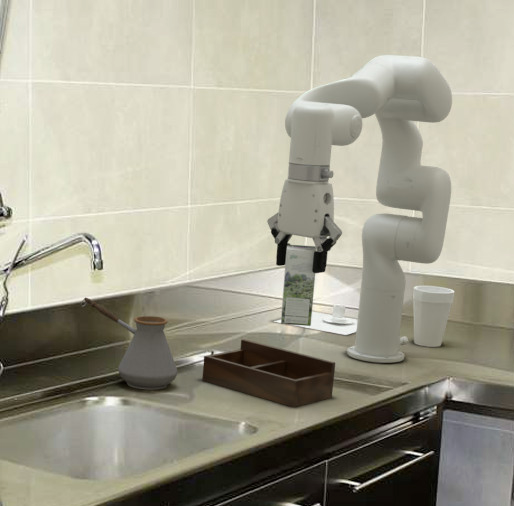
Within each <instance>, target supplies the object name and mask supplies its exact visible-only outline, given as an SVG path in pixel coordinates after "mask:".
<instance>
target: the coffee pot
mask: <svg viewBox="0 0 514 506" xmlns="http://www.w3.org/2000/svg"><path fill="white" fill-rule="evenodd" d="M84 301H85V303H84ZM82 303H84V304H83V305H82ZM88 304H89V305H90V306H91V308H94V309H95V310H96V311H98V312H99V313H100V314H101V315H103V316H105V317H107V318H108V319H110V320H111V321H114V322H115V323H116V324H118V325H120V326H121V327H123V329H124V328H125V330H127V331H129V332H130V333H132V334H133V337H132V338H131V341H130V342H129V344H128V347H127V349H126V351H125V353H124V355H123V357H122V359H121V360H120V363H119V365H118V367H117V370H118V373H119V376H120V378H121V379H122V380H123V381H124V382H126V384H127V386H129V387H131V388H134V389H139V390H149V391H150V390H151V391H152V390H163V389H166V388H167V387H168V385H169V384H171V383H172V382H173V381H175V379H176V378H177V375H178V373H179V372H178V368H177V366H176V363H175V361H174V357H173V354H172V351H171V348H170V346H169V343H168V340H167V337H166V334H165V332H164V329H165V326H166V325H167V324H168V319H166V318H164V317H161V316H149V315H146V316H144V315H143V316H142V315H141V316H136V317H134V319H133V321H134V322H135V325H136V328H134V327H132V326H131V325H129V324H128V323H126V322H125V321H123V320H121V318H119V317H118V316H116V315H115V314H114V313H112V312H111V311H110V310H108V309H107V308H105V307H104V306H101V305H99V304H98V303H97V302H96V301H92V300H91V299H90V298H88V297H84V298H83V300H82V301H81V302H80V303H79V305H80V307H82V308H84V307H85V306H86V305H88Z"/></svg>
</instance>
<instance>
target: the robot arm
mask: <svg viewBox="0 0 514 506" xmlns="http://www.w3.org/2000/svg"><path fill="white" fill-rule="evenodd" d="M452 105H453V94H452V89H451V87H450V84H449V82H448V81H447V80H446V78H445V76H444V75H443V73H441V71H440V70H439V68H438V67H437V66H436V65H435V64H434V63H433V62H432V61H431V59H428V58H427V57H424V56H418V55H417V56H416V55H400V54H382V55H377V56H375V57H373V58H372V59H370V60H369V61H368V62H366V63H365V64H364V65H363V66H361V68H359V69H358V70H357V71H356V72H355V73H353V74H352V75H351V76H350V77H347V78H344V79H339V80H336V81H332V82H329V83H326V84H322V85H319V86H316V87H313V88H310V89H309V90H307V91H305V92H303V94H301V95H299V96H298V97H297V98H296V99H295V100H294V101H293V102H292V103H291V104H290V106H289V108H288V109H287V112H286V114H285V119H284V127H285V132H286V134H287V136H288V137H289V138H290V142H289V156H288V157H289V158H288V165H287V166H288V167H287V178H286V179H285V180H284V183H283V187H282V189H281V195H280V199H279V204H278V205H279V206H278V212H277V213H275V214H273V215H272V216H271V217H269V218H268V219H267V220H266V222H267V225H268V227H269V229H270V234H271V236H272V237H273V238H274V244H276V245H277V246H276V247H277V248H276V257H275V258H276V260H275V261H276V262H275V265H276V266H278V267H282V266H285V262H286V251H287V245H291V243H289V242H290V240H291V238H292V237H293V236H297V237H303V238H309V239H312V241H313V243H314V246H316V249H317V251H315V252H314V257H313V269H312V272H313V273H315V274H321V273H325V272H326V268H327V264H328V263H327V261H328V253H329V252H330V251H331V249H332V248H333V247H334V246H335V245H336V244H337V242H338V241H339V239H340V238H341V236H342V235H343V231H342V229H341V228H340V227H339V226H338V225H337V224H336V223H335V222H334V220H335V199H334V197H335V196H334V189H333V184H332V183H329V179H332V178H334V171H333V170H330V169H331V157H332V146H336V147H337V146H338V147H344V146H349V145H352V144H353V143H355V142H356V141H357V139H358V138H359V137H360V136H361V134H362V130H363V119H366V118H370V117H371V116H374V115H375V118H376V119H377V122H378V125H379V129H380V133H381V140H382V143H381V152H380V157H379V158H380V159H379V165H378V171H377V179H376V186H375V195H376V196H375V197H376V200H377V202H378V203H379V204H380V205H382V206H385V207H387V208H392V209H393V208H394V209H398V210H399V209H400V210H409V211H415V212H416V211H417V212H421V215H422V217H417V216H408V215H403V214H393V213H377V214H373V215H371V216H369V217H368V218H367V219H366V220H365V222H364V223H363V226H362V230H361V247H362V272H361V284H360V293H359V300H358V301H359V302H358V310H357V311H358V312H357V330H356V332H355V341H354V345H352V346H350V347H348V348H347V349H346V354H347V356H348V357H350V358H353V359H355V360H360V361H363V362H370V363H377V364H378V363H379V364H393V363H401V362H402V361H404V359H405V353H404V352H402V351H401V350H400V347H401V346H405V345H407V344H408V343H409V338H408V337H407V336H405V335H404V336H400V335H401V327H402V326H401V325H402V319H403V318H402V317H403V310H404V309H403V307H404V299H405V290H406V276H405V272H404V270H403V268H402V267H401V264H400V261H402V262H410V263H417V264H425V265H427V264H428V265H429V264H432V263H435V262H436V261H438V259H439V258H440V256H441V254H442V251H443V246H444V241H445V235H446V229H447V223H448V216H449V211H450V205H451V198H452V181H451V177H450V174H449V173H448V172H447V170H445V169H443V168H441V167H437V166H429V165H422V164H421V159H422V153H423V152H422V151H423V145H424V142H423V138H422V134H421V132H420V130H419V128H418V126H417V125H416V123H415V122H421V123H422V122H423V123H430V124H431V123H440V122H442V121H444V120H445V119H446V118H447V117H448V116H449V114H450V112H451V110H452Z"/></svg>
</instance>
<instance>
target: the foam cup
mask: <svg viewBox="0 0 514 506" xmlns="http://www.w3.org/2000/svg"><path fill="white" fill-rule="evenodd" d="M412 289H413V290H412V300H413V301H412V305H413V306H412V311H413V343H414V345H418V346H421V347H428V348H429V347H430V348H438V347H441V346H442V342H443V339H444V336H445V332H446V327H447V325H448V321H449V317H450V312H451V310H452V305H453V303H454V299H455V290H453V289H452V288H447V287H442V286H437V285H416V286H414V287H413V288H412Z"/></svg>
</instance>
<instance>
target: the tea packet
mask: <svg viewBox="0 0 514 506" xmlns="http://www.w3.org/2000/svg"><path fill="white" fill-rule="evenodd" d="M315 251H317V249H316V246H315V245H302V244H301V245H300V244H299V245H298V244H290V245H287V251H286V262H285V265H284V274H283V275H284V276H283V289H282V299H281V300H282V301H281V302H282V303H281V316H280V319H281V323H280V324H281V325H289V324H290V326H294V325H303V326H311V317H312V312H313V306H314V293H315V283H316V281H315V280H316V273H313V272H312V269H313V257H314V252H315Z"/></svg>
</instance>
